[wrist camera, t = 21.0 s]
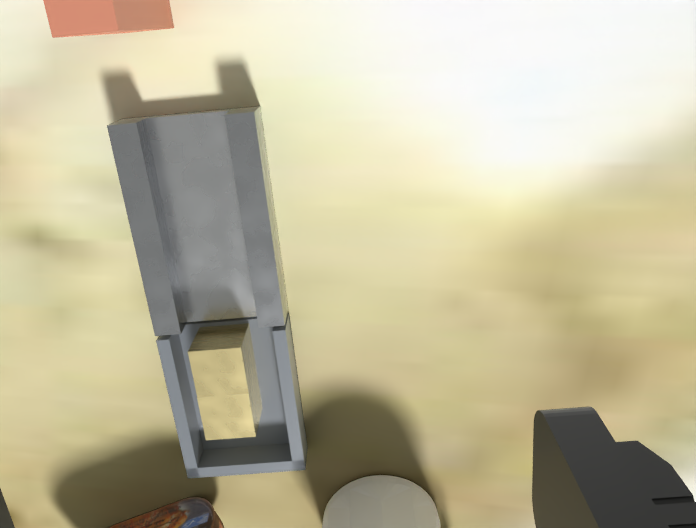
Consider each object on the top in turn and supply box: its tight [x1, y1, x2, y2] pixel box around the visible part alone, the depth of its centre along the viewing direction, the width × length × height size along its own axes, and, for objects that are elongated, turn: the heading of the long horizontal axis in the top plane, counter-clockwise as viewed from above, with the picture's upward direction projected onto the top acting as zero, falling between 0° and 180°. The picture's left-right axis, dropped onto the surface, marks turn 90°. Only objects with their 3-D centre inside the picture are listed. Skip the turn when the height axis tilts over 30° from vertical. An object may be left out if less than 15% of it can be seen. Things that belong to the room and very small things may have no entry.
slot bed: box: [107, 106, 288, 336], centre depth 46 cm, size 10×16×3 cm, turn 5°
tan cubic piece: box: [188, 323, 256, 397], centre depth 49 cm, size 4×4×4 cm
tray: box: [156, 313, 308, 478], centre depth 52 cm, size 10×13×3 cm
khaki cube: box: [197, 369, 262, 440], centre depth 50 cm, size 4×4×4 cm
